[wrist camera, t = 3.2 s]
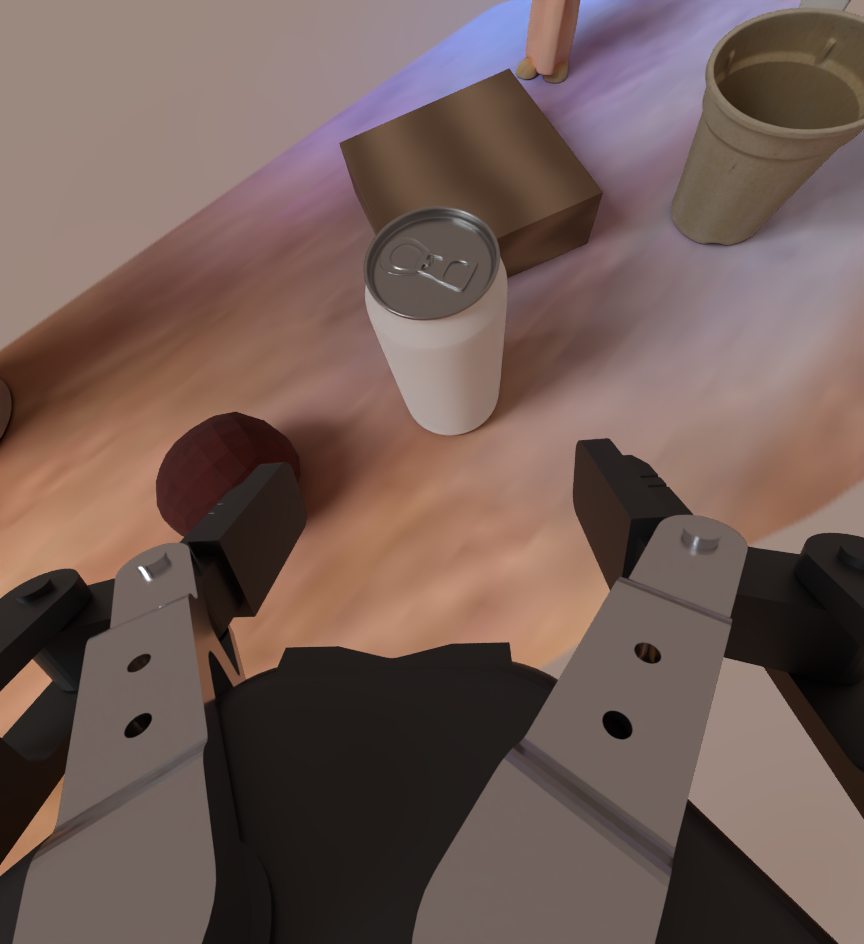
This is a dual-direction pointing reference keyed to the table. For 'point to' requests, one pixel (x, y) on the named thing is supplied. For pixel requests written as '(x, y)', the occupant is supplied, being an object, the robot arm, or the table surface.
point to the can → (440, 314)
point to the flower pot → (770, 118)
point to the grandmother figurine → (549, 39)
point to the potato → (215, 465)
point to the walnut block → (480, 170)
